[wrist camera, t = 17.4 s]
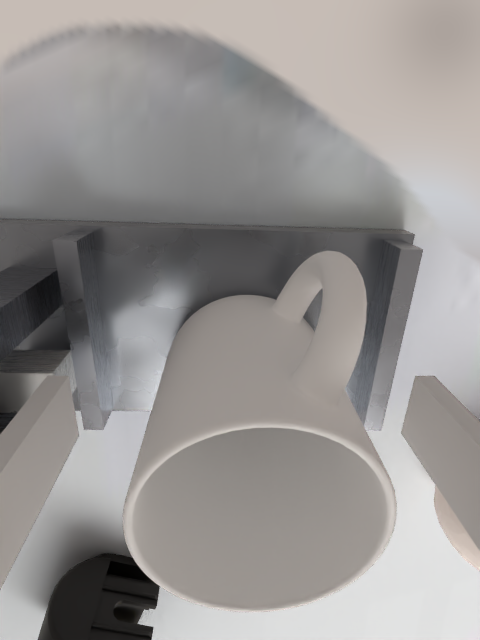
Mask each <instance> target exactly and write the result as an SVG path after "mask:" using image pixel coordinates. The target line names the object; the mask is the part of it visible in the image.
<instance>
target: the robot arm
mask: <svg viewBox="0 0 480 640" xmlns="http://www.w3.org/2000/svg"><path fill="white" fill-rule="evenodd" d="M401 434H402V435H403V437H404V438H405V440H406V441H407V443H408V444H409V446H410V447H411V449H412V450H413V452H414V453H415V455H416V456H417V458H418V459H419V461H420V462H421V464H422V465H423V467H424V468H425V470H426V471H427V473H428V474H429V476H430V477H431V479H432V480H433V482H434V483H435V485H436V486H437V488H438V489H439V491H440V492H441V494H442V495H443V497H444V498H445V500H446V501H447V503H448V504H449V506H450V507H451V509H452V510H453V512H454V513H455V515H456V516H457V518H458V519H459V521H460V522H461V524H462V525H463V527H464V528H465V530H466V531H467V533H468V534H469V536H470V537H471V539H472V540H473V542H474V543H475V545H476V546H477V548H478V549H479V551H480V421H479V420H478V419H477V418H476V417H475V416H474V415H473V414H472V413H471V412H470V411H469V410H468V409H467V408H466V407H465V406H464V405H463V404H462V403H461V402H460V401H459V400H458V399H457V398H456V397H455V396H454V395H453V394H452V393H451V392H450V391H449V390H448V389H447V388H446V387H445V386H444V385H443V384H442V383H441V382H440V381H439V380H438V379H437V378H436V377H435V376H415V379H414V383H413V387H412V391H411V395H410V399H409V403H408V407H407V411H406V415H405V419H404V423H403V427H402V431H401ZM78 437H79V433H78V427H77V421H76V415H75V409H74V403H73V397H72V391H71V385H70V380H69V376H47V377H46V378H45V379H44V380H43V382H42V383H41V384H40V385H39V387H38V388H37V389H36V390H35V392H34V393H33V394H32V395H31V397H30V398H29V399H28V400H27V402H26V403H25V404H24V405H23V407H22V408H21V409H20V410H19V412H18V413H17V414H16V415H15V417H14V418H13V419H12V420H11V422H10V423H9V424H8V425H7V427H6V428H5V429H4V430H3V432H2V433H1V434H0V589H1V587H2V585H3V584H4V582H5V580H6V578H7V576H8V574H9V572H10V570H11V568H12V566H13V564H14V562H15V560H16V558H17V556H18V554H19V552H20V550H21V548H22V546H23V544H24V542H25V540H26V538H27V537H28V535H29V533H30V531H31V529H32V527H33V525H34V523H35V521H36V519H37V517H38V515H39V513H40V511H41V509H42V507H43V505H44V503H45V501H46V499H47V497H48V495H49V493H50V491H51V490H52V488H53V486H54V484H55V482H56V480H57V478H58V476H59V474H60V472H61V470H62V468H63V466H64V464H65V462H66V460H67V458H68V456H69V454H70V452H71V450H72V448H73V446H74V444H75V443H76V441H77V439H78Z"/></svg>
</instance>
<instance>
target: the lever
mask: <svg viewBox="0 0 480 640" xmlns="http://www.w3.org/2000/svg"><path fill="white" fill-rule="evenodd" d="M47 376H69V380H70V385H71V391H72V394H73V392H74V391H75V389H76V388H77V384H76V378H75V372H74V366H73V360H72V354H71V350H13V351H11V352H10V353H9V354H8V355H7V356H6V357H5V358H4V359H3V360H2V361H1V362H0V413H18V412H19V410H20V409H21V408H22V407H23V405H24V404H25V403H26V402H27V400H28V399H29V398H30V397H31V395H32V394H33V393H34V392H35V390H36V389H37V388H38V387H39V385H40V384H41V383H42V382H43V380H44V379H45V378H46V377H47Z"/></svg>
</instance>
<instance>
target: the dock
mask: <svg viewBox="0 0 480 640" xmlns="http://www.w3.org/2000/svg"><path fill="white" fill-rule="evenodd" d="M414 236H415V234H413V233H410V232H408V231H405V230H389V229H353V228H317V227H280V226H244V225H207V224H171V223H134V222H98V221H62V220H25V219H0V362H1V361H2V360H3V359H4V358H5V357H6V356H7V355H8V354H9V353H10V352H11V351H13V350H71V354H72V360H73V366H74V372H75V378H76V384H77V388H76V389H75V391H74V392H73V394H72V397H73V403H74V409H75V411H81V414H82V420H83V426H84V430H103V429H104V427H105V425H106V423H107V420H108V418H109V416H110V414H111V411H152V407H153V404H154V400H155V397H156V393H157V390H158V387H159V383H160V380H161V376H162V373H163V370H164V366H165V363H166V359H167V356H168V353H169V350H170V348H171V345H172V342H173V340H174V338H175V336H176V335H177V333H178V331H179V330H180V328H181V327H182V326H183V324H184V323H185V322H186V321H187V320H188V319H189V318H190V317H191V316H192V315H193V314H194V313H195V312H197V311H198V310H199V309H200V308H202V307H204V306H206V305H207V304H209V303H211V302H214V301H216V300H219V299H222V298H225V297H229V296H236V295H257V296H264V297H268V298H272V299H275V300H277V298H278V296H279V294H280V293H281V291H282V289H283V288H284V286H285V285H286V283H287V281H288V280H289V278H290V277H291V276H292V274H293V273H294V272H295V271H296V269H297V268H298V267H299V266H300V265H301V264H302V263H303V262H304V261H305V260H307V259H308V258H309V257H311V256H313V255H314V254H316V253H319V252H323V251H336V252H340V253H342V254H344V255H346V256H347V257H349V258H350V259H351V260H352V261H353V262H354V263H355V264H356V266H357V268H358V270H359V272H360V274H361V276H362V278H363V281H364V285H365V289H366V299H367V310H366V325H365V331H364V338H363V342H362V345H361V349H360V353H359V356H358V359H357V362H356V365H355V367H354V370H353V372H352V375H351V377H350V379H349V382H348V384H347V386H346V388H345V391H346V393H347V395H348V397H349V398H350V400H351V402H352V404H353V406H354V408H355V410H356V412H357V414H358V416H359V418H360V420H361V422H362V424H363V426H364V428H365V430H379V431H381V429H382V425H383V421H384V416H385V412H386V408H387V404H388V399H389V395H390V391H391V386H392V382H393V378H394V373H395V369H396V365H397V360H398V356H399V352H400V347H401V343H402V339H403V334H404V330H405V326H406V321H407V317H408V313H409V309H410V304H411V300H412V296H413V291H414V287H415V283H416V278H417V274H418V270H419V265H420V261H421V257H422V252H423V249H421V248H419V247H416V246H414V245H413V240H414ZM322 297H323V289H321V290H320V291H319V292H318V293H317V295H316V296H315V297H314V299H313V300H312V302H311V304H310V305H309V307H308V309H307V310H306V312H305V314H304V316H303V318H304V319H305V320H306V321H307V323H308V324H309V325H310V326H311V327H312V329H313V330H314V332H315V330H316V327H317V324H318V320H319V316H320V312H321V306H322ZM16 414H17V413H0V434H1V433H2V432H3V430H4V429H5V428H6V427H7V425H8V424H9V423H10V422H11V420H12V419H13V418H14V417H15V415H16Z"/></svg>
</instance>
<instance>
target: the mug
mask: <svg viewBox="0 0 480 640" xmlns="http://www.w3.org/2000/svg"><path fill="white" fill-rule="evenodd" d="M321 289H323V297H322V306H321V312H320V316H319V320H318V324H317V327H316V330H315V332H314V330H313V329H312V327H311V326H310V325H309V324H308V323H307V321H306V320H305V319H304V318H303V316H304V314H305V312H306V310H307V309H308V307H309V305H310V304H311V302H312V300H313V299H314V297H315V296H316V295H317V293H318V292H319V291H320V290H321ZM366 310H367V299H366V289H365V285H364V281H363V278H362V276H361V274H360V272H359V270H358V268H357V266H356V264H355V263H354V262H353V261H352V260H351V259H350V258H349V257H347V256H346V255H344V254H342V253H340V252H336V251H323V252H319V253H316V254H314V255H313V256H311V257H309V258H308V259H307V260H305V261H304V262H303V263H302V264H301V265H300V266H299V267H298V268H297V269H296V271H295V272H294V273H293V274H292V276H291V277H290V278H289V280H288V281H287V283H286V285H285V286H284V288H283V289H282V291H281V293H280V294H279V296H278V298H277V300H275V299H272V298H268V297H264V296H257V295H236V296H229V297H225V298H222V299H219V300H216V301H214V302H211V303H209V304H207V305H206V306H204V307H202V308H200V309H199V310H198V311H197V312H195V313H194V314H193V315H192V316H191V317H190V318H189V319H188V320H187V321H186V322H185V323H184V324H183V326H182V327H181V328H180V330H179V331H178V333H177V335H176V336H175V338H174V340H173V342H172V345H171V348H170V350H169V353H168V356H167V359H166V363H165V366H164V370H163V373H162V376H161V380H160V383H159V387H158V390H157V393H156V397H155V400H154V404H153V407H152V411H151V414H150V417H149V421H148V424H147V428H146V431H145V434H144V438H143V441H142V445H141V448H140V451H139V455H138V458H137V462H136V465H135V469H134V472H133V475H132V479H131V482H130V486H129V489H128V492H127V496H126V499H125V504H124V509H123V531H124V536H125V541H126V544H127V547H128V549H129V552H130V554H131V555H132V557H133V559H134V560H135V562H136V564H137V565H138V566H139V567H140V569H141V570H142V571H143V572H144V573H145V574H146V575H147V576H148V577H149V578H150V579H151V580H152V581H153V582H155V583H156V584H157V585H159V586H160V587H162V588H163V589H165V590H166V591H168V592H170V593H172V594H174V595H175V596H177V597H179V598H182V599H184V600H187V601H189V602H192V603H195V604H198V605H201V606H205V607H209V608H214V609H219V610H225V611H234V612H268V611H276V610H284V609H289V608H293V607H298V606H302V605H305V604H308V603H312V602H315V601H317V600H320V599H322V598H325V597H327V596H329V595H331V594H333V593H336V592H338V591H340V590H341V589H343V588H345V587H346V586H348V585H349V584H351V583H353V582H354V581H355V580H356V579H358V578H359V577H360V576H362V575H363V574H364V573H365V572H366V571H367V570H368V569H369V568H370V567H371V566H373V565H374V563H375V562H376V561H377V560H378V558H379V557H380V556H381V555H382V553H383V551H384V550H385V548H386V546H387V545H388V543H389V541H390V538H391V536H392V533H393V531H394V527H395V522H396V511H397V503H396V497H395V490H394V488H393V485H392V482H391V479H390V477H389V475H388V473H387V471H386V469H385V467H384V465H383V463H382V461H381V459H380V457H379V455H378V453H377V451H376V449H375V447H374V446H373V444H372V442H371V440H370V438H369V436H368V434H367V432H366V430H365V428H364V426H363V424H362V422H361V420H360V418H359V416H358V414H357V412H356V410H355V408H354V406H353V404H352V402H351V400H350V398H349V397H348V395H347V393H346V391H345V388H346V386H347V384H348V382H349V379H350V377H351V375H352V372H353V370H354V367H355V365H356V362H357V359H358V356H359V353H360V349H361V345H362V342H363V338H364V331H365V325H366Z"/></svg>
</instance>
